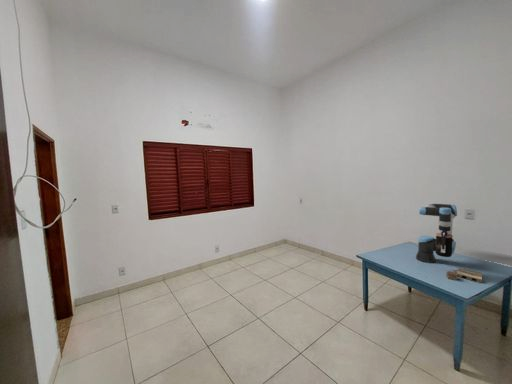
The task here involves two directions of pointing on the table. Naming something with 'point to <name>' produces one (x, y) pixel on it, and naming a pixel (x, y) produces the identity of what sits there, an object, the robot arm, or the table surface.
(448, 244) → the coffee jar
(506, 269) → the table surface
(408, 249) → the table surface
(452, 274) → the cargo block
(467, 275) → the pallet dock
